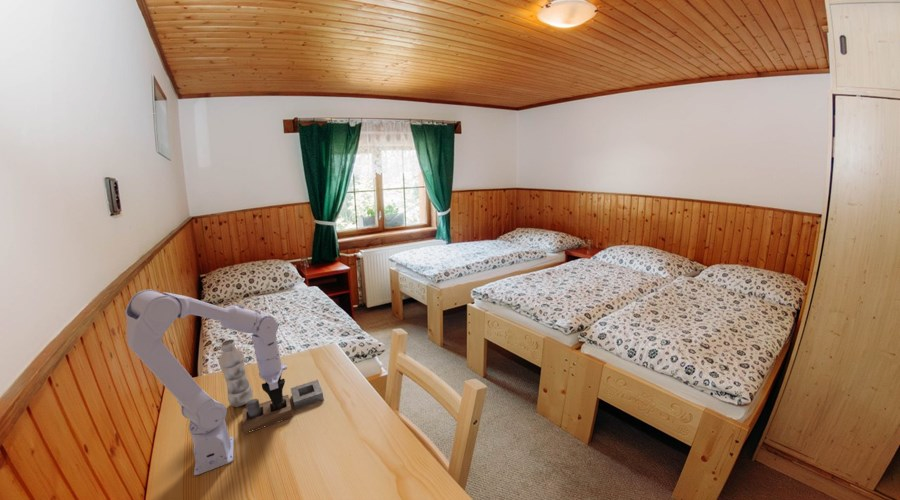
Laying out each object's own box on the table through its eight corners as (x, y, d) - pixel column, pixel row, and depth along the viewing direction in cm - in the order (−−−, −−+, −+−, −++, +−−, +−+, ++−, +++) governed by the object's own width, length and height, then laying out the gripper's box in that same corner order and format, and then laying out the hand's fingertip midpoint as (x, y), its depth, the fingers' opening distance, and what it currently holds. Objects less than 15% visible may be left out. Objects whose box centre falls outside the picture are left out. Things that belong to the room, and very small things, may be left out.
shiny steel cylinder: (287, 413, 107) (281, 385, 105) (275, 418, 106) (269, 390, 103) (285, 407, 110) (279, 380, 107) (274, 412, 108) (267, 384, 106)
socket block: (323, 400, 112) (322, 392, 111) (295, 409, 108) (293, 402, 108) (319, 386, 119) (317, 379, 118) (291, 395, 115) (290, 388, 115)
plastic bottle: (258, 395, 116) (245, 336, 111) (244, 410, 110) (230, 348, 105) (239, 395, 117) (225, 336, 112) (224, 409, 111) (209, 348, 105)
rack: (292, 417, 105) (289, 398, 104) (244, 434, 100) (240, 414, 98) (289, 401, 112) (286, 384, 111) (244, 416, 107) (240, 398, 105)
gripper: (286, 362, 98) (295, 407, 102) (281, 341, 111) (289, 381, 114) (256, 371, 95) (266, 417, 99) (254, 348, 108) (263, 389, 111)
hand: (277, 399), depth 106 cm, fingers open, 4 cm apart
